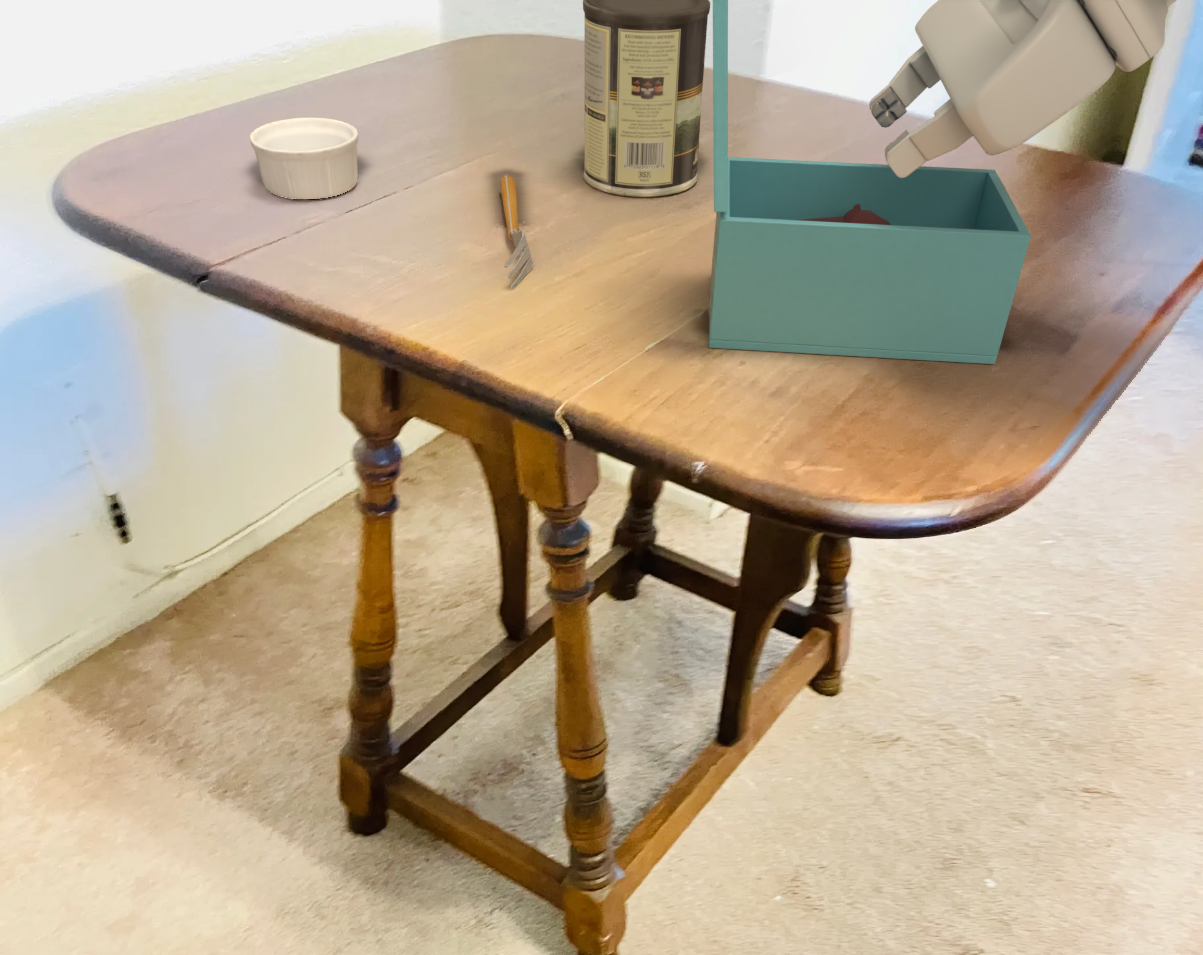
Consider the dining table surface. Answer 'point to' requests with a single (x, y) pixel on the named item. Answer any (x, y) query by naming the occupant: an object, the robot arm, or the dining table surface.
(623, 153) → the coffee can
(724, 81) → the lid
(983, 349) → the box
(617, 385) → the dining table surface
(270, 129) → the ramekin
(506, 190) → the fork
